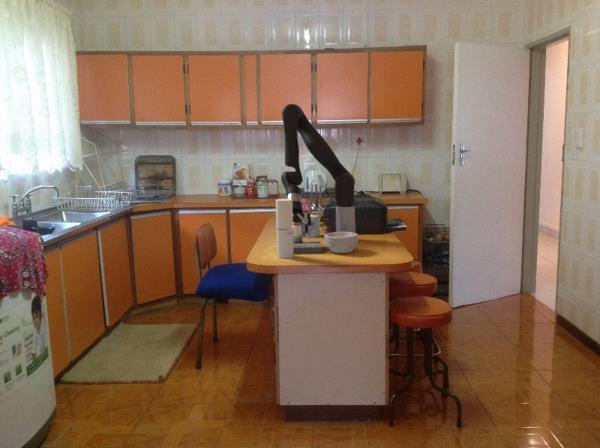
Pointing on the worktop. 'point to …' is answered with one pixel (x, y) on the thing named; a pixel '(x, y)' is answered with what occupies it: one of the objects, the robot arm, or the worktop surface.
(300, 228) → the tea tin
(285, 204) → the cylindrical container
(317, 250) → the display shelf
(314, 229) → the light bulb box
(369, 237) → the worktop surface
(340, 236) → the paper bowls
